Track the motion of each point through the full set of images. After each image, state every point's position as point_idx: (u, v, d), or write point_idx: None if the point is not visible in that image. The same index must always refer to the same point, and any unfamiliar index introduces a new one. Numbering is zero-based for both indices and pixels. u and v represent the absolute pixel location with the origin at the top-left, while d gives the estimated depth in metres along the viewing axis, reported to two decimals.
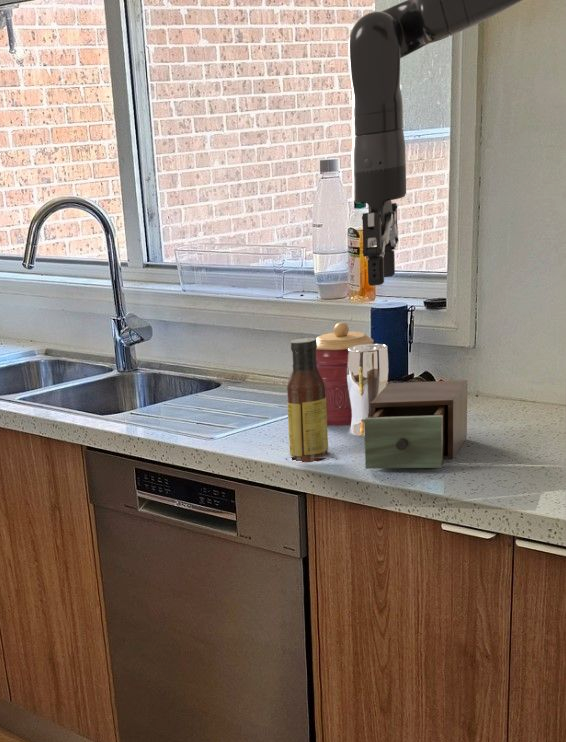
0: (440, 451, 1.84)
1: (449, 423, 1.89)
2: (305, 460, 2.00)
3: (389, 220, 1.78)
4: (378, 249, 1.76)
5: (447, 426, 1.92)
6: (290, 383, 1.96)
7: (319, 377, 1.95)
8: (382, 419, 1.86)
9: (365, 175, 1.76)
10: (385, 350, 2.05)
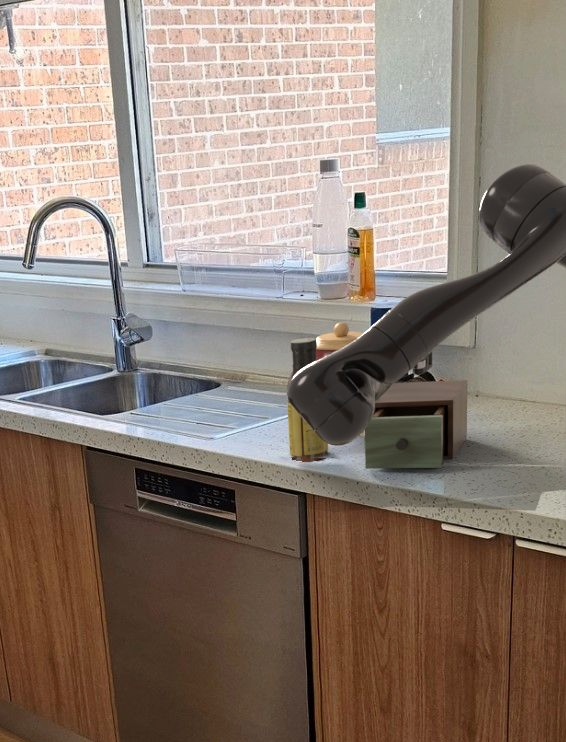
0: (440, 451, 1.84)
1: (449, 423, 1.89)
2: (305, 460, 2.00)
3: None
4: (431, 350, 1.65)
5: (447, 426, 1.92)
6: None
7: None
8: (382, 419, 1.86)
9: None
10: None
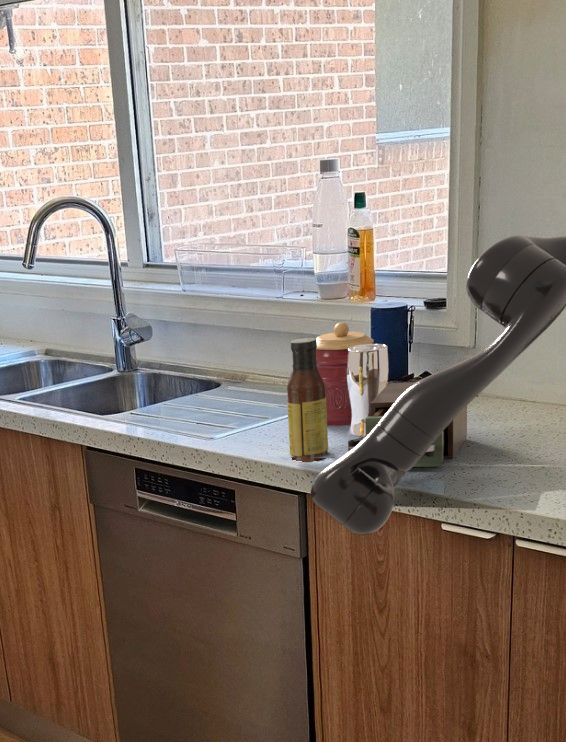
0: (441, 450, 1.85)
1: None
2: (305, 460, 2.00)
3: None
4: None
5: None
6: (290, 383, 1.96)
7: (319, 377, 1.95)
8: None
9: None
10: (385, 350, 2.05)
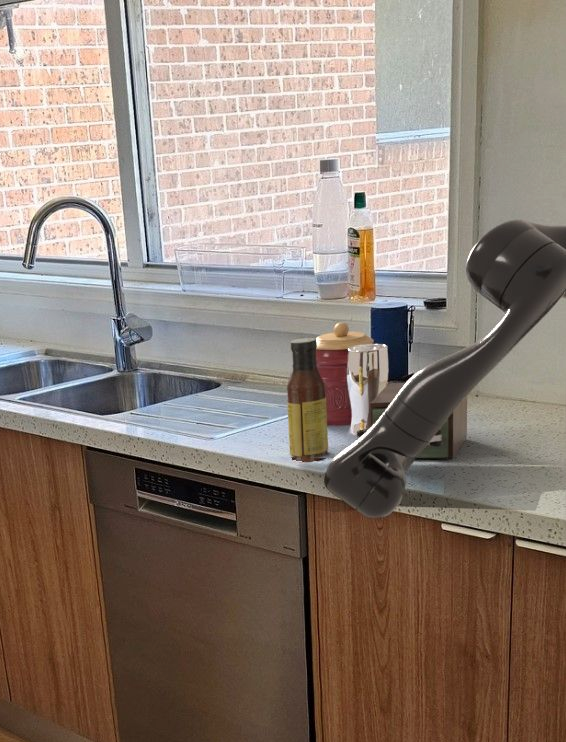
0: (446, 441, 1.89)
1: (449, 423, 1.89)
2: (305, 460, 2.00)
3: None
4: None
5: None
6: (290, 383, 1.96)
7: (319, 377, 1.95)
8: None
9: (414, 459, 1.75)
10: (385, 350, 2.05)
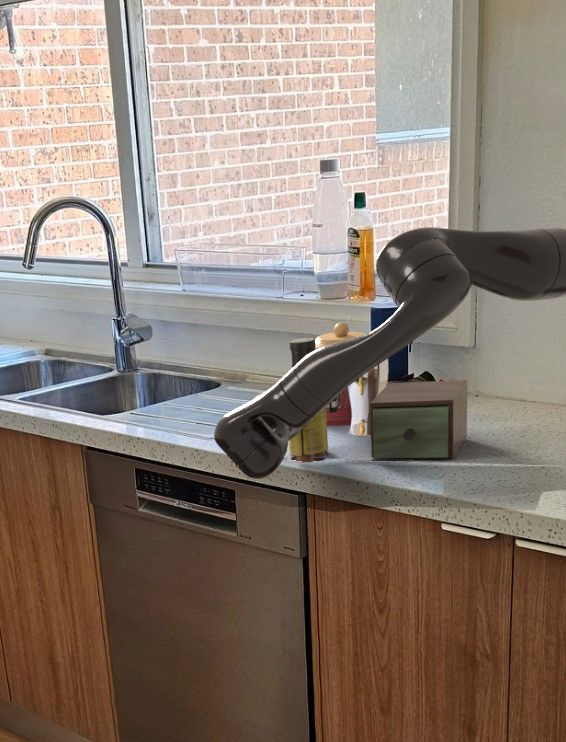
0: (446, 441, 1.89)
1: (449, 423, 1.89)
2: (305, 460, 2.00)
3: None
4: None
5: None
6: None
7: None
8: (390, 410, 1.91)
9: None
10: None
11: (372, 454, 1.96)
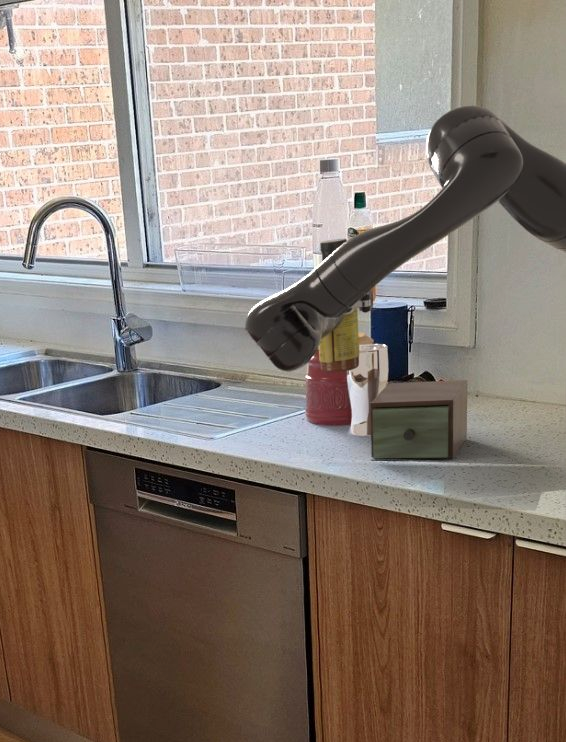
0: (446, 441, 1.89)
1: (449, 423, 1.89)
2: (336, 366, 1.93)
3: None
4: (372, 291, 1.86)
5: None
6: None
7: None
8: (390, 410, 1.91)
9: (338, 319, 1.80)
10: (385, 350, 2.05)
11: (372, 454, 1.96)
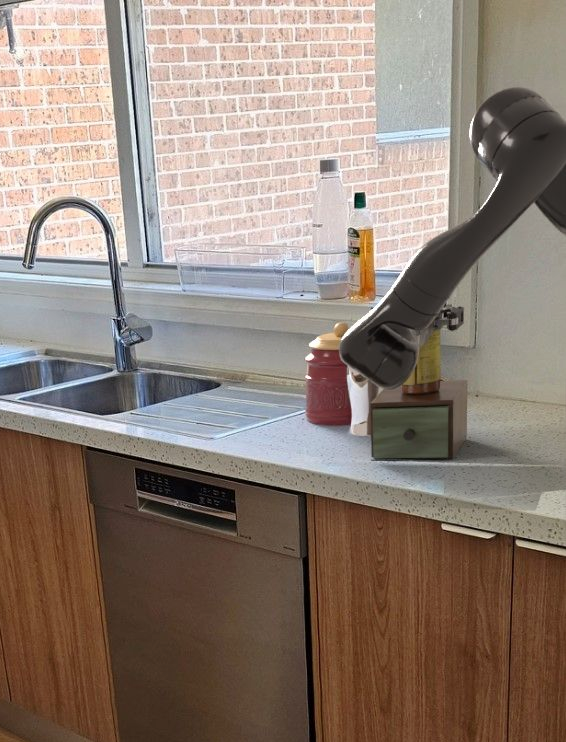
0: (446, 441, 1.89)
1: (449, 423, 1.89)
2: (418, 389, 1.93)
3: None
4: (463, 309, 1.85)
5: None
6: None
7: None
8: (390, 410, 1.91)
9: (427, 337, 1.79)
10: None
11: (372, 454, 1.96)
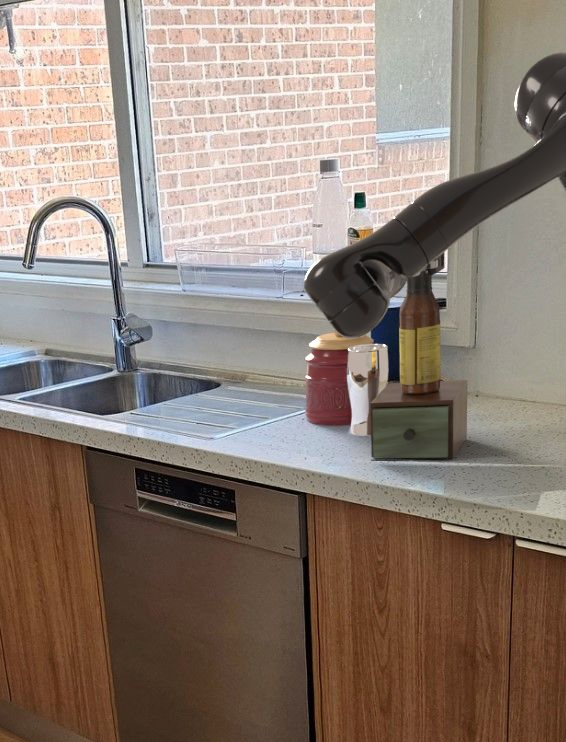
0: (446, 441, 1.89)
1: (449, 423, 1.89)
2: (418, 389, 1.93)
3: None
4: None
5: None
6: (404, 308, 1.90)
7: (435, 302, 1.89)
8: (390, 410, 1.91)
9: (403, 281, 1.61)
10: (385, 350, 2.05)
11: (372, 454, 1.96)
